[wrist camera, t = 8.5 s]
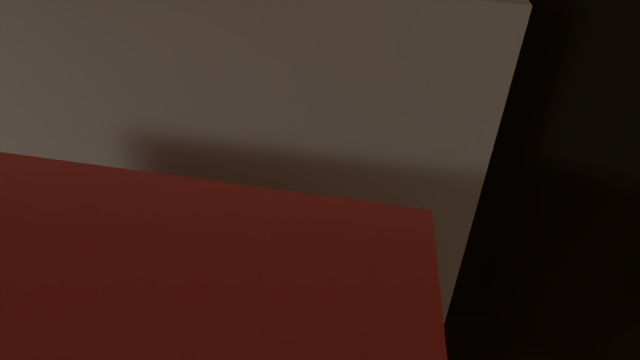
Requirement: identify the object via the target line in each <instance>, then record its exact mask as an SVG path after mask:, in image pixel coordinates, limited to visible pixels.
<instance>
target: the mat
mask: <svg viewBox="0 0 640 360" xmlns="http://www.w3.org/2000/svg"><path fill="white" fill-rule="evenodd" d="M531 9H532V5H531V3H530V2H529V0H0V152H5V153H12V154H20V155H27V156H35V157H42V158H50V159H57V160H64V161H72V162H79V163H87V164H94V165H101V166H109V167H116V168H124V169H131V170H138V171H146V172H153V173H161V174H168V175H175V176H183V177H190V178H198V179H205V180H213V181H220V182H227V183H235V184H242V185H250V186H257V187H264V188H272V189H279V190H287V191H294V192H301V193H309V194H316V195H324V196H331V197H338V198H346V199H353V200H361V201H368V202H376V203H383V204H390V205H398V206H405V207H413V208H420V209H427V210H432V218H433V228H434V237H435V247H436V256H437V266H438V275H439V285H440V294H441V304H442V313H443V323H445V319H446V316H447V312H448V308H449V305H450V301H451V298H452V294H453V290H454V287H455V283H456V280H457V276H458V272H459V269H460V265H461V262H462V258H463V254H464V251H465V247H466V244H467V240H468V236H469V233H470V229H471V226H472V222H473V218H474V215H475V211H476V207H477V204H478V200H479V197H480V193H481V189H482V186H483V182H484V179H485V175H486V171H487V168H488V164H489V161H490V157H491V153H492V150H493V146H494V143H495V139H496V135H497V132H498V128H499V125H500V121H501V117H502V114H503V110H504V107H505V103H506V99H507V96H508V92H509V88H510V85H511V81H512V78H513V74H514V70H515V67H516V63H517V60H518V56H519V52H520V49H521V45H522V42H523V38H524V34H525V31H526V27H527V24H528V20H529V16H530V13H531Z"/></svg>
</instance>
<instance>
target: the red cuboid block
mask: <svg viewBox="0 0 640 360" xmlns="http://www.w3.org/2000/svg"><path fill="white" fill-rule="evenodd" d="M0 360H447V351H446V342H445V332H444V323H443V313H442V304H441V294H440V285H439V275H438V266H437V256H436V247H435V237H434V228H433V218H432V210H427V209H420V208H413V207H405V206H398V205H390V204H383V203H376V202H368V201H361V200H353V199H346V198H338V197H331V196H324V195H316V194H309V193H301V192H294V191H287V190H279V189H272V188H264V187H257V186H250V185H242V184H235V183H227V182H220V181H213V180H205V179H198V178H190V177H183V176H175V175H168V174H161V173H153V172H146V171H138V170H131V169H124V168H116V167H109V166H101V165H94V164H87V163H79V162H72V161H64V160H57V159H50V158H42V157H35V156H27V155H20V154H12V153H5V152H0Z"/></svg>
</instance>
